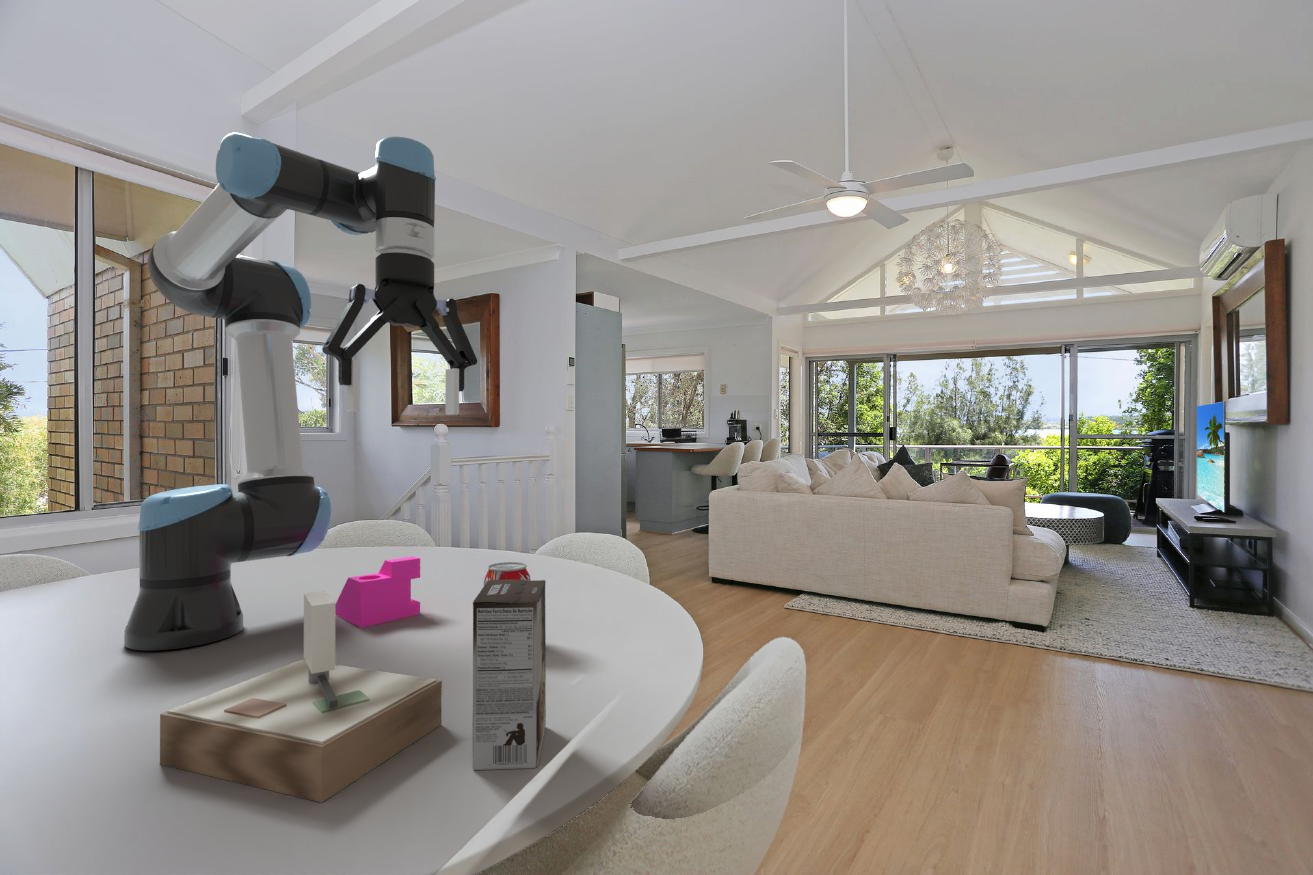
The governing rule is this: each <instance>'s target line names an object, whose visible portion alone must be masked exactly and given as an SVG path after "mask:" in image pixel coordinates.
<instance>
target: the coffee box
mask: <svg viewBox="0 0 1313 875" xmlns="http://www.w3.org/2000/svg"><path fill="white" fill-rule="evenodd" d="M546 637H547V636H546V579H541V580H538V579H537V580H531V581H527V580H489V581H487V583H486V584H485V586H484V585H483V587H482V588H481V590H480V591H479V593H478V594H477V596H476V597H475V598H474V600H473V602H472V770H473V771H485V770H488V771H490V770H513V769H514V770H515V769H518V770H519V769H536V768H538V767H539V763H540V759H541V752H542V747H543V742H544V738H545V737H544V736H545V732H546V731H545V730H546V725H547V714H546V713H547V712H546V711H547V710H546V709H547V708H546V707H547V706H546V705H547V704H546V701H547V700H546V699H547V697H546V694H547V693H546V689H547V688H546V684H547V682H546V681H547V680H546V679H547V676H546V674H547V673H546V671H547V669H546V664H547V663H546V656H547V655H546V649H547V648H546V643H547V642H546Z"/></svg>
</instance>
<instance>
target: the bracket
mask: <svg viewBox="0 0 1313 875" xmlns="http://www.w3.org/2000/svg"><path fill="white" fill-rule="evenodd" d="M415 579H421V557H418V556H408V557H406V556H405V557H400V558H394V559H393V558H391V559H387V560H386V559H385V560H384V561H383V563H382V566H380V569H379V571H378V572H377V573H372V574H371V573H369V574H364V575H363V574H362V575H357V576H352V577H347V579H346V582H345V584H344V586H343V588H342V590H341V592H340V594H339V596H338V598H337V600H336V602H335V616H338V617H340V618H341V619H344V620H345V621H347V622H349V623H352V624H353V625H355V626H356V627H359V628H365V627H370V626H373V625H378V624H382V623H386V622H390V621H395V620H400V619H404V618H409V617H413V616H417V615H421V602H420V601H418V600H416V599H413V598H412V595H411V594H412V580H415Z"/></svg>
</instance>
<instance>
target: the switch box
mask: <svg viewBox="0 0 1313 875" xmlns="http://www.w3.org/2000/svg"><path fill="white" fill-rule="evenodd" d="M328 682H329V684H330V686H331V688H332V690H333V692H334V694H335V696H336V698H337V699H338V706H335V707H330V708H329V705H328V703H327V701H326V699H325V697H324V695H323V693H322V691H321V688H320V686H319V684H318V683H310V682H309V681H308V665H307V663H306V661H305V659H299V660H297V661H294V662H291V663H288V664H286V665H284V666H281V667H278V668H276V669H273V670H270V671H268V672H264V673H262V674H260V675H257V676H254V677H252V678H250V679H246V680H245V681H242V682H238V683H237V684H234V685H231V686H229V687H226V688H223V689H221V690H218V691H216V692H213V693H210V694H207V695H205V696H203V697H202V696H201V697H199V698H197V699H194V700H193V701H190V702H187V703H184V704H181V705H179V706H176V707H174V708H171V709H169V710H168V709H167V711H164V712H161V713H160V714H159V765H162V766H166V767H171V768H176V769H180V770H184V771H187V772H192V773H196V774H201V775H205V776H208V777H212V778H213V777H214V778H217V779H221V780H226V781H230V782H233V783H238V784H243V785H246V786H251V787H255V788H259V789H263V790H268V791H271V792H276V793H280V794H285V795H288V796H293V797H296V798H301V799H306V800H309V801H314V802H318V803H321V804H322V803H324V802H325V801H326V800H328V799H330V798H332V797H333V796H334V795H336V794H337V793H339V792H340V791H342V790H343V789H345V788H346V787H349V785H351V784H353V783H355V782H356V781H357V780H359V779H360V778H362V777H363V776H365V775H367V774H369V773H370V772H371V771H373V770H374V769H375V768H377V767H378V766H380V765H382V764H383V763H384V762H386V761H387V760H389V759H391V758H392V757H394V756H396V755H397V754H398V753H399V754H400V752H402V751H403V750H405V749H406V748H407V747H410V746H411V745H413V744H414V743H415V742H417V741H418V740H420V739H422V738H423V737H425V736H427V735H428V734H429V733H431V732H432V731H433V730H435V729H437V728H439V727H440V726H441V725H442V685H443V684H442V679H441V680H440V679H434V678H428V677H423V676H422V677H421V676H415V675H408V674H401V673H393V672H389V671H382V670H381V671H380V670H375V669H367V668H361V667H360V668H359V667H353V666H349V665H348V666H347V665H341V664H340V665H339V664H335V670H330V671H329V679H328Z"/></svg>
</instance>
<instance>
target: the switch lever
mask: <svg viewBox="0 0 1313 875" xmlns="http://www.w3.org/2000/svg"><path fill="white" fill-rule="evenodd" d="M335 604H336V602H335V600H334V599H333V598H332V597H331V595H330V594H329V593H328V592H327V590H322V591H314V592H313V591H312V592H308V593H307V592H305V593H303V658H304V660H305V661H306V663H307V665H308V681H309V682H310V683H318V684H319V686H320V688H321V691H322V693H323V695H324V697H325V699H326V701H327V703H328V705H329V708H330V707H335V706H338V699H337V698H336V696H335V694H334V692H333V690H332V688H331V686H330V684H329V682H328V679H329V671H330V670H335V665H336V614H335Z"/></svg>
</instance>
